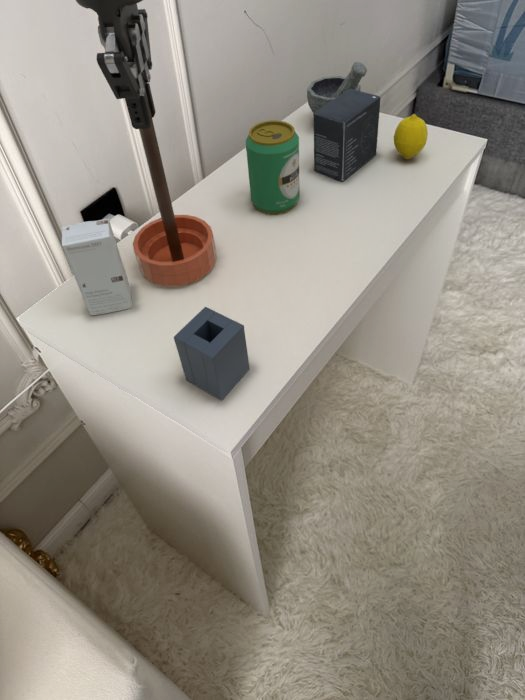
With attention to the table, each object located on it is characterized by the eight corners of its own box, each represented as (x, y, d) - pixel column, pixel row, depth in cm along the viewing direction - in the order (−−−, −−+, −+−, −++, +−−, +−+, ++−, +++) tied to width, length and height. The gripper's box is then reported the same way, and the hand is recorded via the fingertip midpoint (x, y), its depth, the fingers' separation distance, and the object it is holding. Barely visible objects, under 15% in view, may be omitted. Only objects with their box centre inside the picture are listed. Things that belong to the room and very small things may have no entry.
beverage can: (280, 221, 83) (277, 150, 74) (241, 205, 86) (233, 136, 77) (309, 196, 87) (309, 126, 78) (270, 182, 90) (266, 113, 81)
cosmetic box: (90, 317, 72) (58, 247, 62) (89, 295, 75) (59, 225, 65) (135, 308, 72) (110, 237, 63) (132, 286, 75) (108, 216, 66)
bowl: (133, 289, 75) (125, 265, 71) (148, 239, 82) (141, 215, 79) (212, 288, 74) (207, 264, 70) (220, 237, 81) (216, 213, 78)
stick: (171, 263, 77) (124, 81, 57) (173, 255, 78) (128, 74, 58) (183, 263, 77) (140, 80, 57) (185, 255, 78) (143, 73, 58)
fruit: (424, 151, 94) (432, 106, 87) (421, 167, 90) (430, 122, 84) (393, 148, 95) (399, 104, 89) (389, 164, 91) (395, 120, 85)
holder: (185, 380, 64) (173, 336, 58) (214, 350, 66) (205, 306, 60) (221, 401, 61) (212, 358, 55) (249, 369, 64) (244, 325, 58)
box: (346, 144, 97) (350, 86, 89) (377, 155, 94) (383, 96, 86) (311, 170, 92) (312, 111, 84) (342, 182, 89) (346, 122, 81)
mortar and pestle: (297, 127, 102) (297, 62, 93) (323, 108, 106) (325, 43, 97) (348, 142, 97) (352, 75, 88) (373, 121, 102) (379, 55, 92)
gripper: (80, -76, 53) (126, 96, 66) (37, -36, 44) (99, 154, 57) (153, -82, 52) (184, 94, 66) (124, -42, 44) (166, 151, 57)
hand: (144, 121), depth 62 cm, fingers closed
